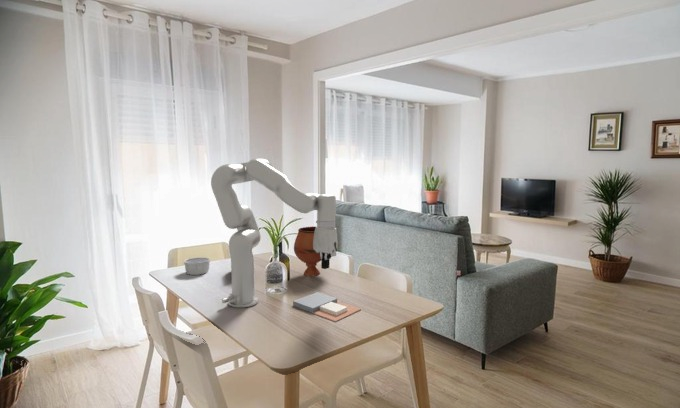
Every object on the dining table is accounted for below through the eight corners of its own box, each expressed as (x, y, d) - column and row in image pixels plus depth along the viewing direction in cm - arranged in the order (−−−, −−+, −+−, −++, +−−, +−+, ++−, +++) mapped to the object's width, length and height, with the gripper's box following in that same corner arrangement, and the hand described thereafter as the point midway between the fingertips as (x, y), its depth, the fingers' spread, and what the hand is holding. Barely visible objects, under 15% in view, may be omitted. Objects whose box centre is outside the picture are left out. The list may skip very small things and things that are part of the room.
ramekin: (192, 268, 219) (192, 256, 218) (214, 269, 217) (214, 257, 216) (179, 275, 206) (179, 262, 205) (203, 276, 204) (202, 263, 203)
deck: (313, 313, 157) (313, 308, 157) (293, 305, 165) (293, 301, 164) (337, 302, 168) (337, 298, 168) (317, 296, 176) (317, 292, 176)
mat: (335, 322, 148) (335, 321, 148) (313, 313, 156) (313, 312, 156) (360, 309, 160) (360, 309, 160) (338, 302, 168) (338, 301, 168)
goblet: (292, 279, 201) (292, 231, 198) (295, 268, 220) (295, 225, 217) (329, 279, 201) (329, 232, 198) (329, 268, 220) (329, 225, 217)
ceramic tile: (336, 315, 153) (336, 312, 153) (319, 309, 159) (319, 306, 159) (347, 310, 159) (347, 307, 159) (331, 305, 164) (331, 301, 164)
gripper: (306, 223, 160) (306, 266, 162) (333, 228, 150) (332, 273, 153) (319, 221, 166) (318, 262, 168) (346, 225, 156) (344, 269, 158)
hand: (325, 268), depth 160 cm, fingers closed
